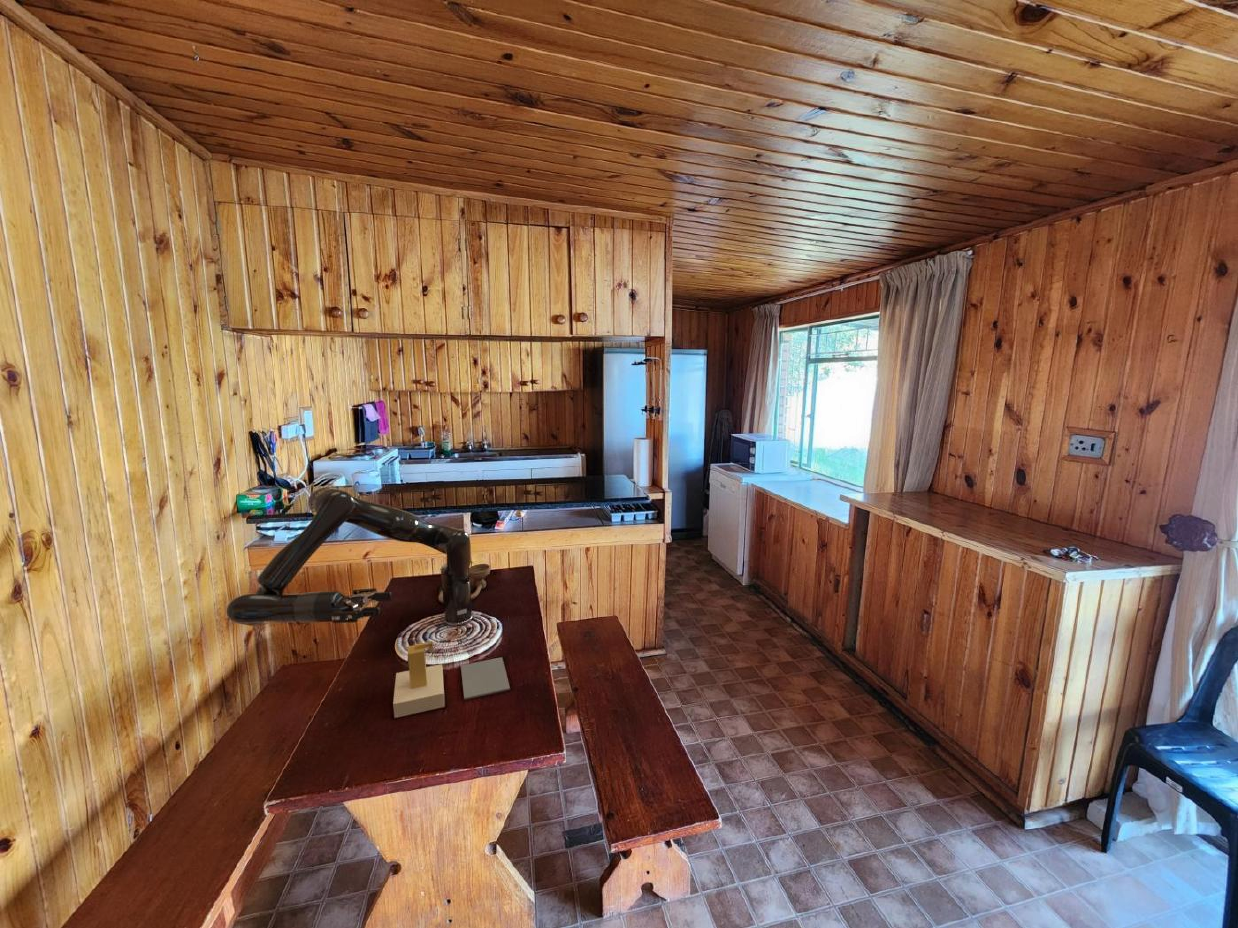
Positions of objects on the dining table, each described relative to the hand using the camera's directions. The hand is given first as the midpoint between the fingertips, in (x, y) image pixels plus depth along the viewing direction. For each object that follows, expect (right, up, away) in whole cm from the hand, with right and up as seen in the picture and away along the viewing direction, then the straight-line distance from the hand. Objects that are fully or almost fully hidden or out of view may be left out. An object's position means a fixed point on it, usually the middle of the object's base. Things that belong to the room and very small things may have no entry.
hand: (385, 603), depth 130 cm
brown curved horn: (0, -15, +68) cm, 70 cm away
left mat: (+22, -25, +13) cm, 36 cm away
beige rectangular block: (+7, -26, +6) cm, 28 cm away
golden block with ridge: (+8, -22, +5) cm, 24 cm away
